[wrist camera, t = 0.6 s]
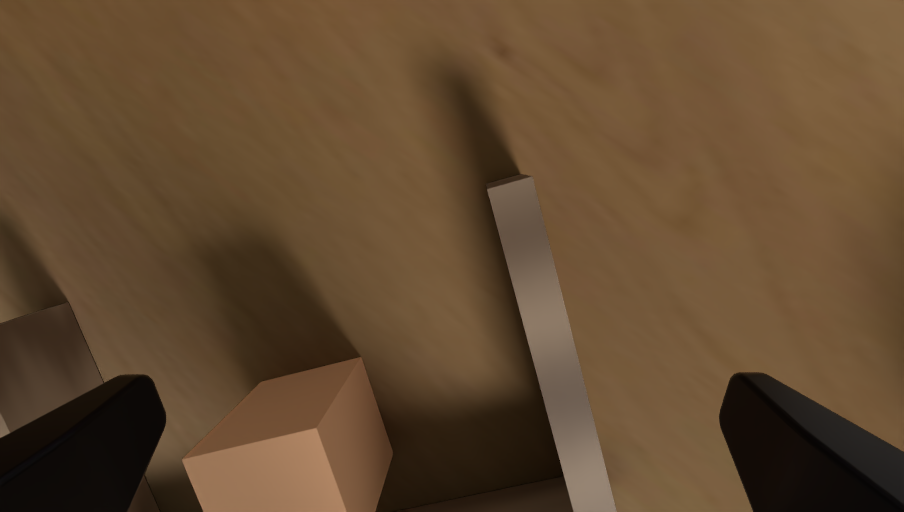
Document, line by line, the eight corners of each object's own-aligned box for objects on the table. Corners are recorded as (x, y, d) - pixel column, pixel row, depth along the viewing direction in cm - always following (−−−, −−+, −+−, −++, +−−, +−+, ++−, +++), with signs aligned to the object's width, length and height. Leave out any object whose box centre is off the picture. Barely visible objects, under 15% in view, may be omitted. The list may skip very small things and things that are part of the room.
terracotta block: (393, 452, 22) (362, 554, 16) (296, 474, 23) (232, 580, 17) (361, 356, 22) (316, 428, 16) (261, 381, 22) (181, 459, 16)
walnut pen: (603, 497, 22) (633, 580, 18) (164, 586, 25) (94, 678, 20) (520, 174, 19) (532, 176, 15) (40, 310, 22) (-71, 346, 18)
